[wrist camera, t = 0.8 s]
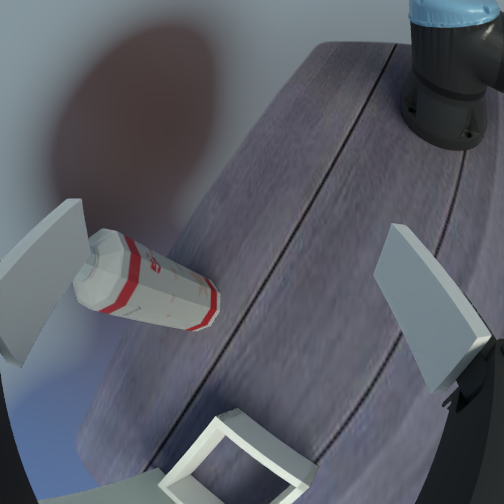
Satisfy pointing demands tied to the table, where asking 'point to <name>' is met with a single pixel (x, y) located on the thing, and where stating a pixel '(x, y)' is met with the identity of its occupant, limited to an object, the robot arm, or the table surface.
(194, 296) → the spray bottle
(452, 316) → the robot arm
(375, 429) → the table surface
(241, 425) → the bottle bracket
